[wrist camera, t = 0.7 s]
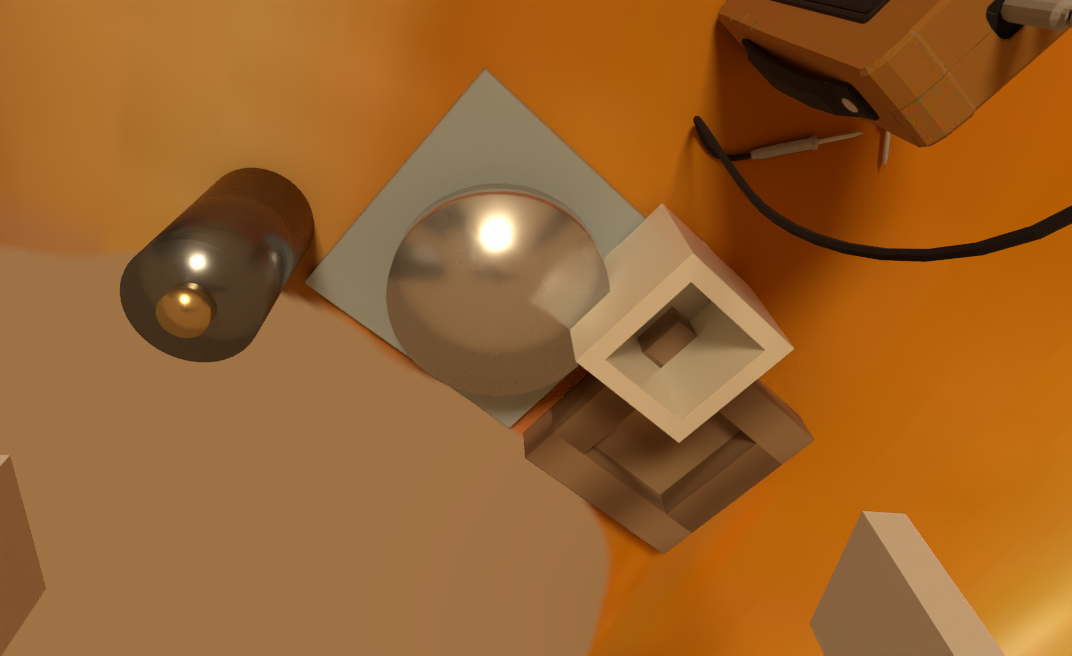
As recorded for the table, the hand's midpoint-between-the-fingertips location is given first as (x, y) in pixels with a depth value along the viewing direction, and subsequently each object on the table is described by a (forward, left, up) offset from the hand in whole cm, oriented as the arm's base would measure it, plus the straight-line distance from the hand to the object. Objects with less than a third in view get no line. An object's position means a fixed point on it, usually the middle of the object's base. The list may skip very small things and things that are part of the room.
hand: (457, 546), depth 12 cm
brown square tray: (+16, -4, -21) cm, 26 cm away
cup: (+10, +1, -21) cm, 23 cm away
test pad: (+4, -3, -19) cm, 20 cm away
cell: (-5, -8, -21) cm, 23 cm away
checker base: (+4, -3, -21) cm, 22 cm away
